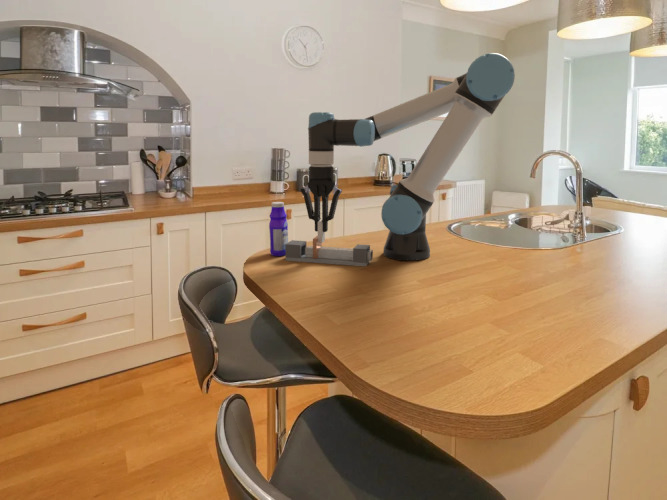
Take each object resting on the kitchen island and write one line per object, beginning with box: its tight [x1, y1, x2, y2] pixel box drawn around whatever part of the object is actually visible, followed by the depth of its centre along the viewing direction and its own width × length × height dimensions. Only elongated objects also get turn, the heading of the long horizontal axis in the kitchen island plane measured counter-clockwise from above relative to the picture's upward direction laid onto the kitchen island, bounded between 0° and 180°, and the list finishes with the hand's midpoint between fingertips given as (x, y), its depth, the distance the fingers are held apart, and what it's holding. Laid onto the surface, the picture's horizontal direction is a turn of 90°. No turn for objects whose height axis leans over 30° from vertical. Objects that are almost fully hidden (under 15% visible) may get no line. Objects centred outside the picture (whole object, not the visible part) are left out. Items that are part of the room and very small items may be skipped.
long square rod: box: [305, 235, 374, 263], centre depth 147 cm, size 21×5×6 cm, turn 74°
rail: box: [285, 239, 371, 267], centre depth 148 cm, size 26×6×5 cm, turn 74°
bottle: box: [268, 201, 289, 257], centre depth 155 cm, size 7×6×17 cm
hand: (321, 241), depth 148 cm, fingers closed
